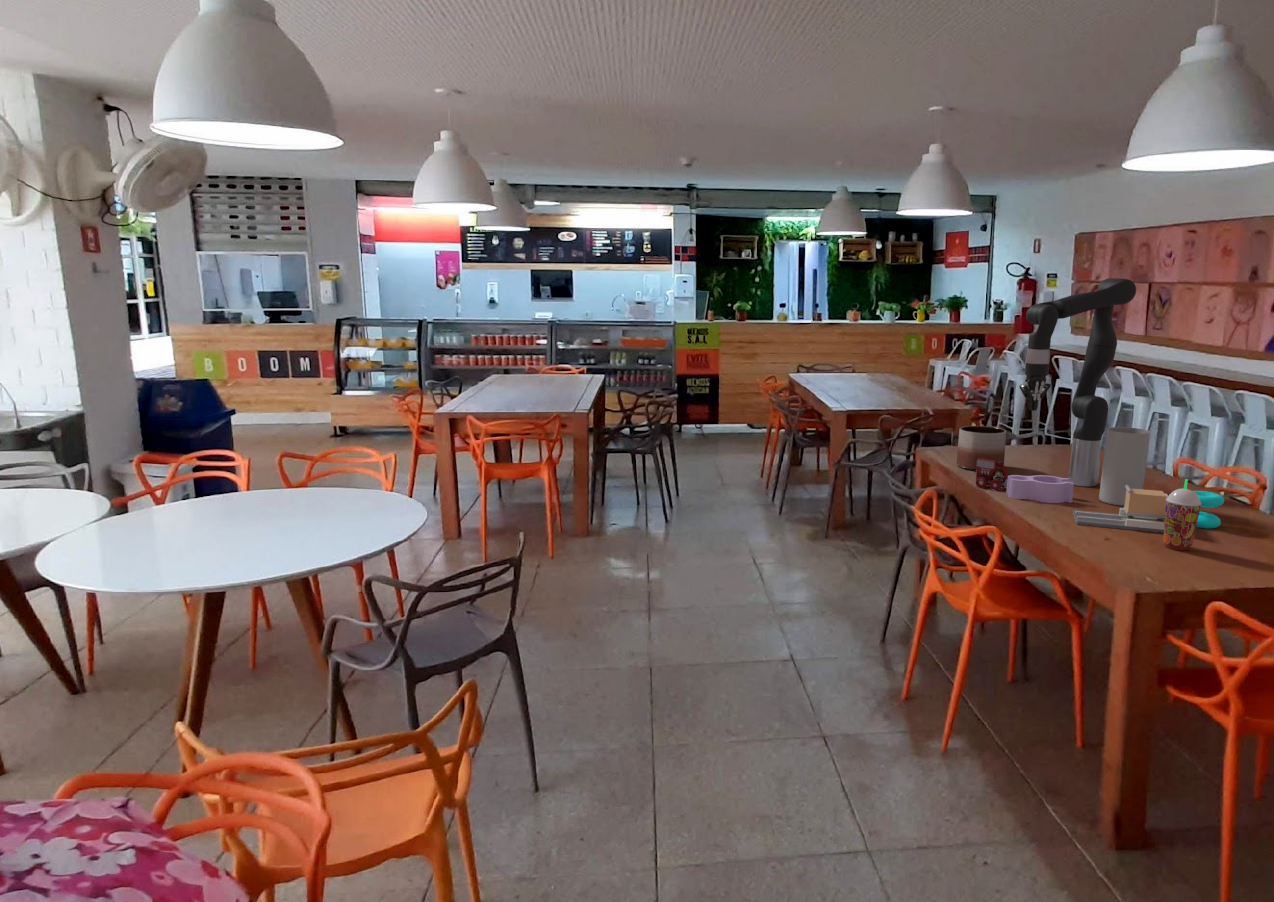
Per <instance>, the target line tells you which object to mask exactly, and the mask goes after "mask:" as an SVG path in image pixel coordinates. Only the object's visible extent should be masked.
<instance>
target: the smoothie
mask: <svg viewBox="0 0 1274 902" xmlns="http://www.w3.org/2000/svg"><path fill="white" fill-rule="evenodd" d="M1188 481H1189V479H1188V478H1185V479H1184V485H1183V487H1182V488H1177V489H1175V490H1173V491H1171V492H1170V493H1169V494H1168V498H1166V507H1165V524H1164V533H1163V542H1164V547H1166V548H1168V549H1170V548H1171V549H1170V550H1174V549H1175V550H1174V551H1181V550H1185V551H1188V550H1190V547H1192V546H1193V542H1194V538H1195V535H1196V534H1195V533H1196V529H1197V527H1196V525H1197V521H1198V516H1199V512H1201V508H1202V507H1201V504H1202V503H1201V502H1200V500H1199V497H1198V496H1197V494H1196V493H1195V492H1193V491H1194V490H1191V489H1189V488H1188Z"/></svg>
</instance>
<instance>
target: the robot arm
mask: <svg viewBox="0 0 1274 902" xmlns="http://www.w3.org/2000/svg"><path fill="white" fill-rule="evenodd" d="M1136 294H1137V286H1136V284H1135V282H1133V280H1131V279H1128V278H1105V279H1102V280H1101V282H1099V285H1098V287H1097V289H1096V290H1095V291H1088V292H1082V293H1081V292H1080V293H1076V294H1072V295H1068V296H1065V297H1062V298H1059V299H1055V300H1051V301H1050V300H1049V301H1045V302H1044V301H1043V302H1040V303H1036V304H1033V305H1031V306H1030V307H1029V308H1028V309H1027V310H1026V313H1025V318H1026V321H1028V323H1029V324H1032V325H1038V326H1037V329H1036V331H1032V332H1031V333H1030V334H1029V336H1028V344H1027V351H1026V355H1025V356H1026V357H1025V365H1024V366H1025V369H1024V375H1025V376H1026V377H1025V379H1024V383H1023V384H1019V389H1020V391H1021V393H1022V395H1023V397H1024V398H1025V399H1028V410H1029V411H1033V412H1034V411H1037V410H1038V407H1039V400H1040V399H1043V398H1044V397H1045V396H1046V394H1047V392H1048V391H1049V389H1050V388H1051V385H1052V384H1051V383H1049V382H1047V377H1046V376H1048V375H1049V369H1050V360H1051V352H1050V351H1051V350H1050V349H1051V341H1052V340H1051V339H1052V336H1053V334H1054V331H1055V328H1056V326H1057V323H1058V319H1067V318H1069V317H1073V316H1076V315H1079V314H1083V313H1086V312H1089V311H1090V312H1091V311H1092V310H1093V317H1092V323H1091V327H1090V332H1089V333H1090V334H1089V338H1088V340H1087V345H1086V350H1085V355H1084V361H1083V365H1082V369H1081V372H1080V373H1081V374H1080V377H1079V381H1078V384H1077V387H1076V390H1075V392H1074V395H1073V398H1072V401H1071V413H1072V415H1073V416H1074V417H1075V418H1077V419H1081V420H1083V422H1082V426H1081V427H1080V428H1076V429H1075V430H1073V432H1072V433H1073V434H1072V435H1073V436H1072V441H1071V442H1072V443H1071V444H1072V445H1071V452H1070V453H1071V454H1070V462H1069V470H1068V478H1069V479H1070V481H1069V482H1072V483H1074V486H1079V487H1095V486H1097V485H1099V477H1100V469H1101V461H1102V460H1101V459H1100V454H1101V446H1102V439H1103V438H1102V437H1103V434H1104V433H1105V430H1106V427H1107V421H1108V414H1109V404H1108V401H1107V400H1106V399H1105V398H1104V397H1103V396H1097V395H1096V390H1097V387H1098V385H1099V382H1100V380H1101V378H1102V377H1103V376H1104V375H1105V373H1106V372H1107V370H1108V369H1109V368H1110V367H1111V366H1112V364H1113V362H1114V360H1115V355H1116V352H1117V346H1118V339H1117V335H1116V331H1115V328H1114V324H1113V312H1114V308H1115V307H1114V306H1121V305H1122V306H1123V305H1126V304H1128V303H1130V302H1131V301H1133V299H1134V298H1135V296H1136Z"/></svg>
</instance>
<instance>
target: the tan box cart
mask: <svg viewBox="0 0 1274 902" xmlns="http://www.w3.org/2000/svg"><path fill="white" fill-rule="evenodd" d="M1125 488H1126V489H1127V490H1126V498H1125V506H1123V507H1122V508H1123V510H1124V512H1125V514H1126V515H1128V519H1134V517H1133V516H1139V517H1150V518H1158V519H1157V520H1156V521H1159V522H1163V520H1162V519H1165V507H1166V498H1167V496H1166V495H1165V494H1166V493H1165V492H1164V491H1163V490H1154V489H1144V488H1143V489H1131V488H1130V487H1129V486H1128V485H1125Z"/></svg>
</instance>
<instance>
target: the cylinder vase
mask: <svg viewBox="0 0 1274 902" xmlns="http://www.w3.org/2000/svg"><path fill="white" fill-rule="evenodd" d="M1105 434H1106V435H1105V444H1104V452H1103V460H1102V461H1103V462H1102V469H1101V476H1100V477H1101V478H1100V479H1101V480H1100V485H1099V495H1098V498H1099V501H1101V502H1102V503H1105V504H1109V505H1113V506H1119V507H1124V506H1125V498H1126V490H1127V489H1126V488H1125V485H1128V486H1129V487H1130V488H1131V489H1143V490H1144V485H1145V479H1146V478H1145V477H1146V468H1147V462H1148V461H1147V460H1148V454H1149V453H1148V452H1149V446H1150V439H1151V438H1150V437H1151V431H1150V430H1147V429H1144V428H1138V427H1125V426H1112V427H1107V428H1106V433H1105Z"/></svg>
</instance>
